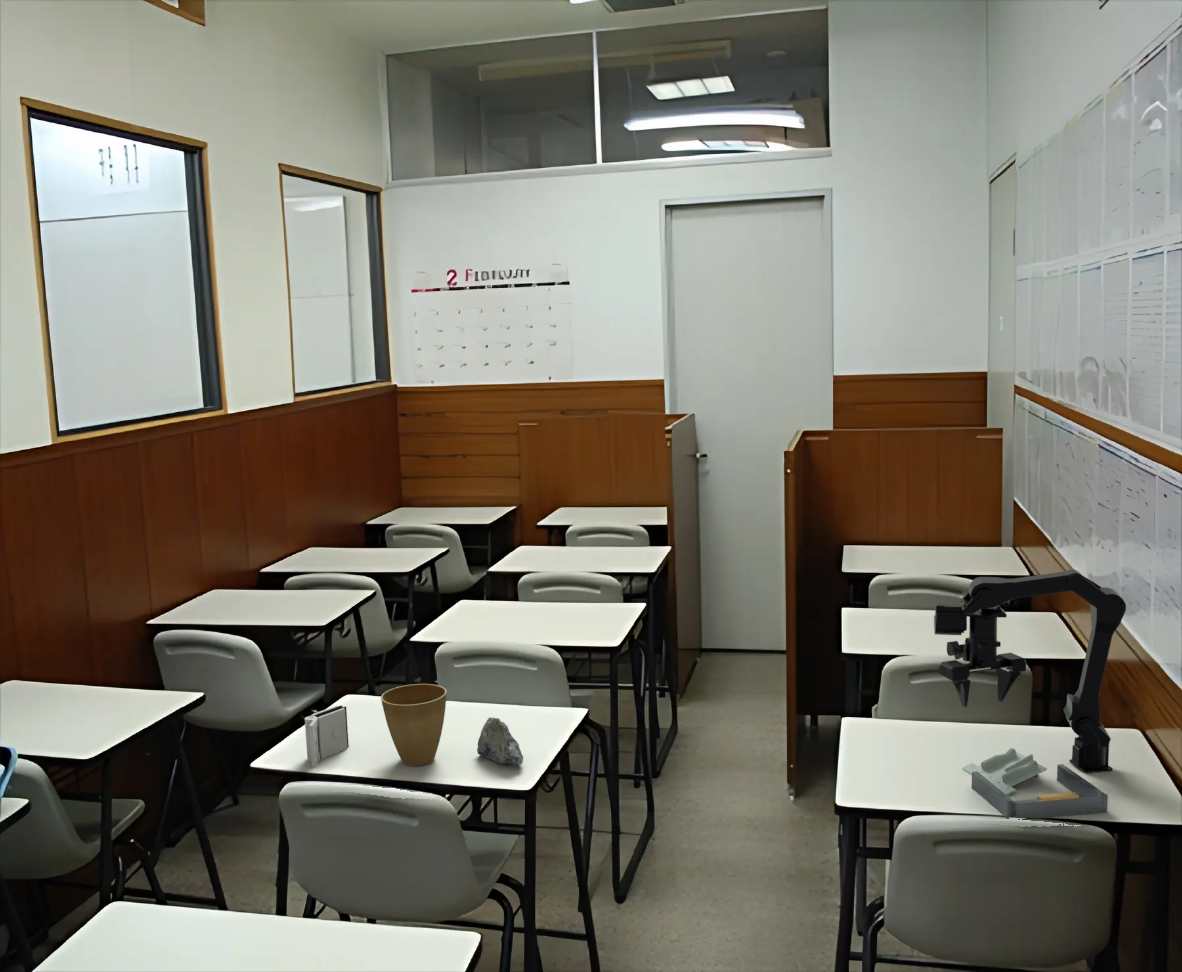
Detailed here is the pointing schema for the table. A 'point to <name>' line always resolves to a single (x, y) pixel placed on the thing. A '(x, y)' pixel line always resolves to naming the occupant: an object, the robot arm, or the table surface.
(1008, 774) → the metal bracket
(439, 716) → the plant pot
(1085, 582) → the robot arm
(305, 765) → the table surface
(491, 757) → the mineral rock
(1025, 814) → the rail dock
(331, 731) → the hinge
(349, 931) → the table surface
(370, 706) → the table surface
